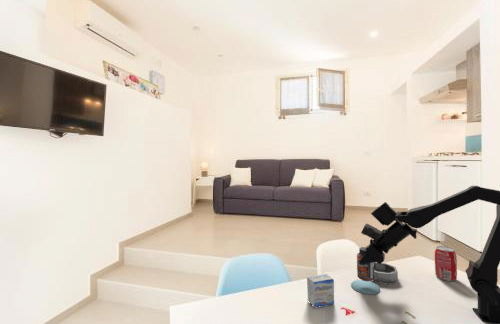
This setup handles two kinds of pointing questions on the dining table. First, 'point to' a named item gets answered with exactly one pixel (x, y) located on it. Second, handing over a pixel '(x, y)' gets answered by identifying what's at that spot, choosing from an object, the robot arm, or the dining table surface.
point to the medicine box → (320, 290)
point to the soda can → (445, 263)
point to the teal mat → (365, 287)
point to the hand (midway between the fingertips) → (361, 260)
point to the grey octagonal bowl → (385, 273)
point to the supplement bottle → (364, 267)
